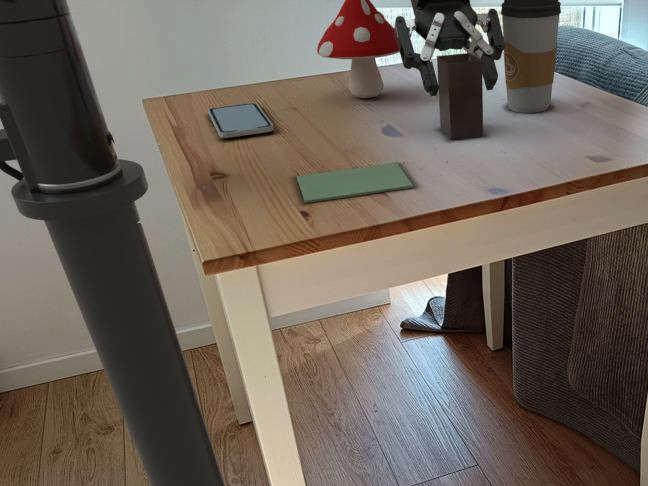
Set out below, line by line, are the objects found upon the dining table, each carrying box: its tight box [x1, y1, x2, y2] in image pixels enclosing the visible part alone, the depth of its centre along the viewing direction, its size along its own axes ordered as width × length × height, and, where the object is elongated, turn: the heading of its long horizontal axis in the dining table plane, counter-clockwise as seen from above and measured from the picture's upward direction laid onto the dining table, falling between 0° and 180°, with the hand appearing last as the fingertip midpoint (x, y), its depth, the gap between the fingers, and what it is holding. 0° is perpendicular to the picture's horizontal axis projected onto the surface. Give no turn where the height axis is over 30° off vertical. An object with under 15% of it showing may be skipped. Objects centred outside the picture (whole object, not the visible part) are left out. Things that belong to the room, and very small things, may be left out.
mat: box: [296, 162, 414, 204], centre depth 78 cm, size 12×8×1 cm, turn 108°
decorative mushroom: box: [316, 0, 400, 99], centre depth 106 cm, size 14×14×15 cm
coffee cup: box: [500, 0, 562, 114], centre depth 98 cm, size 8×8×15 cm
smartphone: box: [207, 102, 275, 139], centre depth 99 cm, size 7×1×15 cm
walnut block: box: [436, 52, 484, 141], centre depth 90 cm, size 4×5×10 cm
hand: (463, 89), depth 88 cm, fingers open, 7 cm apart
